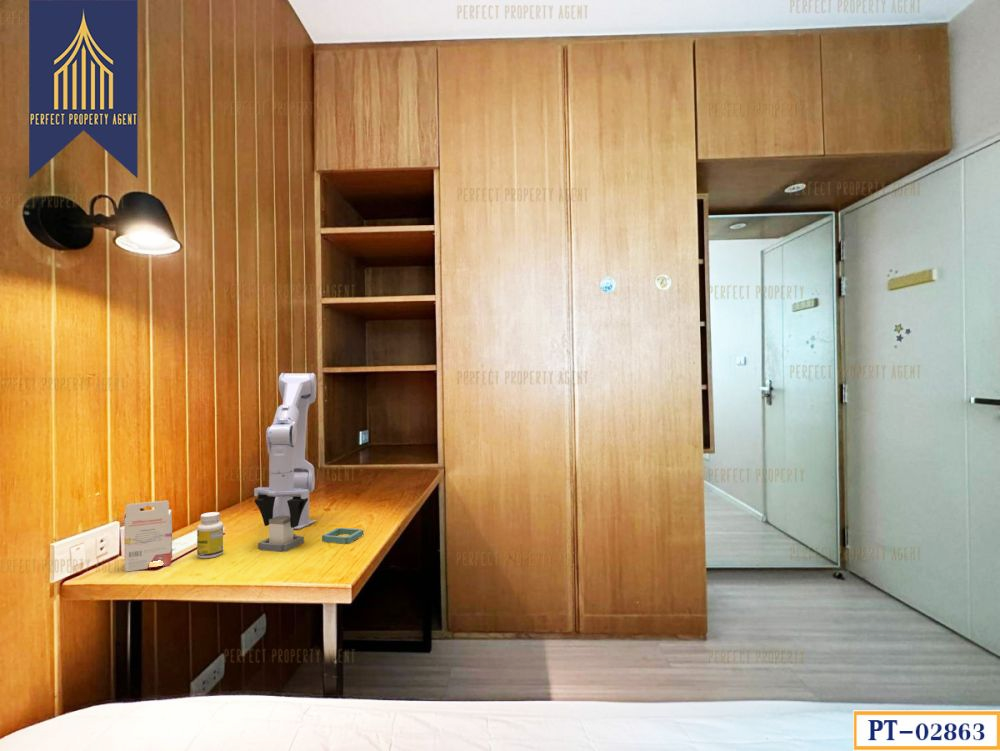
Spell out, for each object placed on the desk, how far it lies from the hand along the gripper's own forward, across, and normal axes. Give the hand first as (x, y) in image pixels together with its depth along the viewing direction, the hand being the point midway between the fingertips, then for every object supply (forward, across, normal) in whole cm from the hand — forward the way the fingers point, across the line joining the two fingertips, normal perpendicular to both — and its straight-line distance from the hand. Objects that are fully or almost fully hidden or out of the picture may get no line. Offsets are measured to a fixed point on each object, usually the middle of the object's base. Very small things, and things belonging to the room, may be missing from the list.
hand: (281, 525), depth 128 cm
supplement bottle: (+5, -12, -10) cm, 16 cm away
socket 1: (+5, 0, 0) cm, 5 cm away
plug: (+5, 0, 0) cm, 5 cm away
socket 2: (+5, +12, +9) cm, 16 cm away
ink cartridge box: (+5, -20, -19) cm, 28 cm away
